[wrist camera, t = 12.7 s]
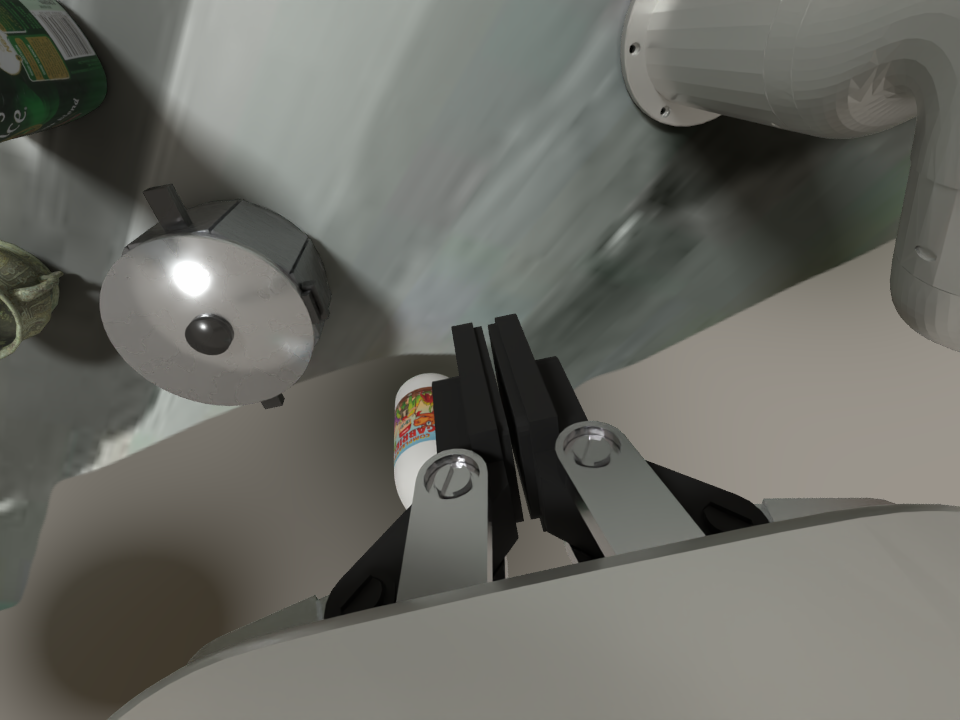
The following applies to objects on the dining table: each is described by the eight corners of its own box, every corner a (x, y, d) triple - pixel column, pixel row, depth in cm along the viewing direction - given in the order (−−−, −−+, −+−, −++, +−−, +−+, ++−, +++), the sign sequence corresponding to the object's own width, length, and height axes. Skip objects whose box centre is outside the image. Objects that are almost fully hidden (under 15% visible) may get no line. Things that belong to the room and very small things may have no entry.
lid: (278, 212, 32) (271, 221, 30) (345, 377, 40) (343, 391, 38) (59, 255, 31) (40, 267, 30) (173, 413, 40) (163, 429, 38)
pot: (293, 147, 37) (267, 171, 30) (366, 348, 48) (359, 399, 42) (105, 184, 37) (35, 217, 30) (222, 377, 48) (191, 434, 41)
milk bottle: (475, 386, 53) (507, 539, 37) (441, 431, 56) (456, 591, 40) (415, 360, 50) (421, 514, 34) (383, 409, 53) (373, 572, 37)
